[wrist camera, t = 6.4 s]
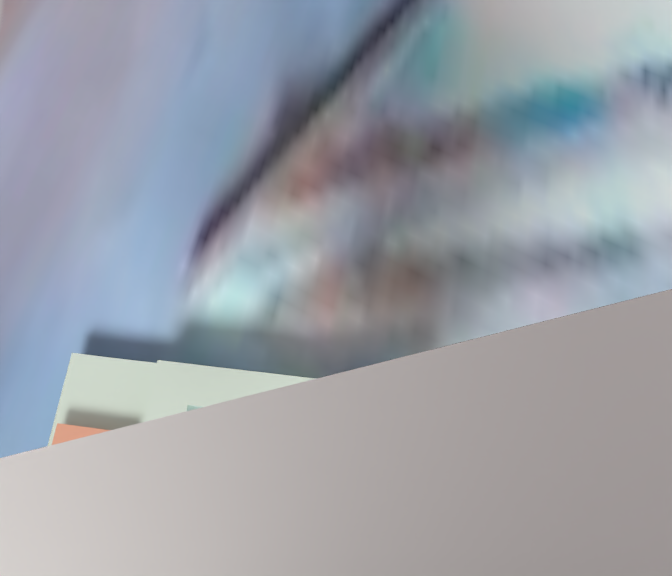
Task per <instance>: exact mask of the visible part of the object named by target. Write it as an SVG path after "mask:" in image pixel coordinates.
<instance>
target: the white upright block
mask: <svg viewBox="0 0 672 576" xmlns="http://www.w3.org/2000/svg"><path fill="white" fill-rule="evenodd" d="M0 576H672V289H670V290H666V291H662V292H658V293H655V294H651V295H647V296H643V297H639V298H635V299H631V300H627V301H623V302H619V303H615V304H611V305H607V306H603V307H599V308H595V309H591V310H587V311H583V312H579V313H575V314H571V315H567V316H563V317H559V318H555V319H551V320H547V321H543V322H539V323H535V324H531V325H527V326H523V327H519V328H515V329H511V330H507V331H504V332H500V333H496V334H492V335H488V336H484V337H480V338H476V339H472V340H468V341H464V342H460V343H456V344H452V345H448V346H444V347H440V348H436V349H432V350H428V351H424V352H420V353H416V354H412V355H408V356H404V357H400V358H396V359H392V360H388V361H384V362H380V363H376V364H372V365H368V366H364V367H360V368H357V369H353V370H349V371H345V372H341V373H337V374H333V375H329V376H325V377H321V378H317V379H313V380H309V381H305V382H301V383H297V384H293V385H289V386H285V387H281V388H277V389H273V390H269V391H265V392H261V393H257V394H253V395H249V396H245V397H241V398H237V399H233V400H229V401H225V402H221V403H217V404H213V405H209V406H206V407H202V408H198V409H194V410H190V411H186V412H182V413H178V414H174V415H170V416H166V417H162V418H158V419H154V420H150V421H146V422H142V423H138V424H134V425H130V426H126V427H122V428H118V429H114V430H110V431H106V432H102V433H98V434H94V435H90V436H86V437H82V438H78V439H74V440H70V441H66V442H62V443H58V444H55V445H51V446H47V447H43V448H39V449H35V450H31V451H27V452H23V453H19V454H15V455H11V456H7V457H3V458H0Z"/></svg>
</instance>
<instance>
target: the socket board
mask: <svg viewBox="0 0 672 576" xmlns="http://www.w3.org/2000/svg"><path fill="white" fill-rule="evenodd" d="M313 379H315V378H307V377H298V376H290V375H281V374H273V373H264V372H256V371H247V370H239V369H230V368H221V367H213V366H204V365H196V364H187V363H179V362H170V361H162V360H157V363H153V362H144V361H136V360H127V359H119V358H110V357H102V356H93V355H85V354H77V353H72V355H71V358H70V362H69V366H68V370H67V374H66V378H65V381H64V385H63V389H62V393H61V397H60V400H59V404H58V408H57V412H56V416H55V420H54V423H53V427H52V431H51V435H50V439H49V443H48V446H51V445H55V444H58V443H62V442H66V441H70V440H74V439H78V438H82V437H86V436H90V435H94V434H98V433H102V432H106V431H110V430H114V429H118V428H122V427H126V426H130V425H134V424H138V423H142V422H146V421H150V420H154V419H158V418H162V417H166V416H170V415H174V414H178V413H182V412H186V411H190V410H194V409H198V408H202V407H206V406H209V405H213V404H217V403H221V402H225V401H229V400H233V399H237V398H241V397H245V396H249V395H253V394H257V393H261V392H265V391H269V390H273V389H277V388H281V387H285V386H289V385H293V384H297V383H301V382H305V381H309V380H313Z"/></svg>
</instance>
